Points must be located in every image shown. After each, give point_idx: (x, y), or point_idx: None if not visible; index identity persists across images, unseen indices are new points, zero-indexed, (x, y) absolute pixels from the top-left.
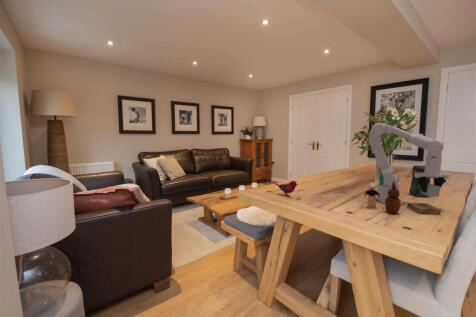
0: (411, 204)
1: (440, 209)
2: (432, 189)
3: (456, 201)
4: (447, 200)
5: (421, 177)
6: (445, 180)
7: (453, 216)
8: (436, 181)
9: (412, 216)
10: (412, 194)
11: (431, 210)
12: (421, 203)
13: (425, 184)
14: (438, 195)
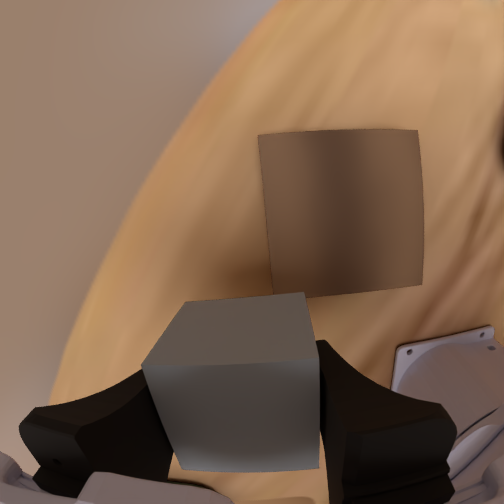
0: (422, 236)
1: (259, 139)
2: (256, 334)
3: None
4: None
5: (450, 486)
6: (33, 413)
7: (183, 134)
8: (143, 471)
9: (453, 84)
10: None
11: (329, 131)
12: (324, 288)
13: (365, 385)
14: (188, 305)
